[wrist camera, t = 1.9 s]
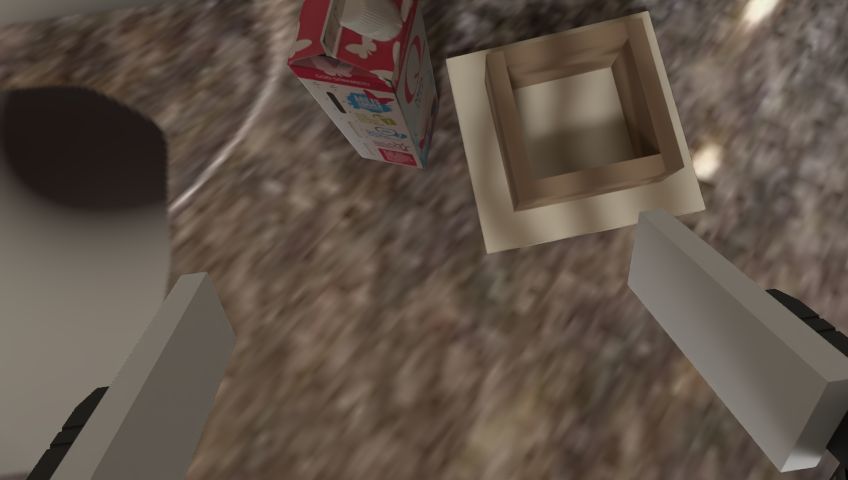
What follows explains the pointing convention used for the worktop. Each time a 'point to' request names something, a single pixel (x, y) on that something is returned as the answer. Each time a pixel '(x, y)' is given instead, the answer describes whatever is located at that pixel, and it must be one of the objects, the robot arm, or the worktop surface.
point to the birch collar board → (571, 133)
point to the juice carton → (370, 74)
